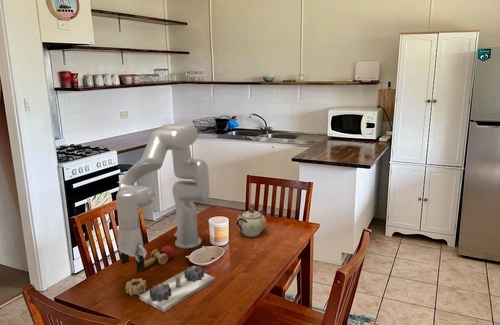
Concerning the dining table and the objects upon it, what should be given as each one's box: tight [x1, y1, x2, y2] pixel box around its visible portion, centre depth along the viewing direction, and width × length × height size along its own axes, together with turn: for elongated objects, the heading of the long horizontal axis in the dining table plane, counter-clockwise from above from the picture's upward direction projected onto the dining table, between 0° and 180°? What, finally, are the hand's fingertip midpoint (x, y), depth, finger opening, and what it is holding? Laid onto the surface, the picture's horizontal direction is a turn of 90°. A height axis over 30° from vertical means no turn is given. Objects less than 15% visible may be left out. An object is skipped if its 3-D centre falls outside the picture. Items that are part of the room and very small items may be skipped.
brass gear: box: [125, 277, 147, 296], centre depth 153 cm, size 7×7×3 cm
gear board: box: [138, 265, 216, 313], centre depth 152 cm, size 14×26×6 cm, turn 141°
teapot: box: [236, 205, 267, 238], centre depth 201 cm, size 20×15×15 cm
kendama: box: [139, 245, 175, 272], centre depth 174 cm, size 8×6×18 cm
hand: (133, 266), depth 151 cm, fingers open, 9 cm apart
